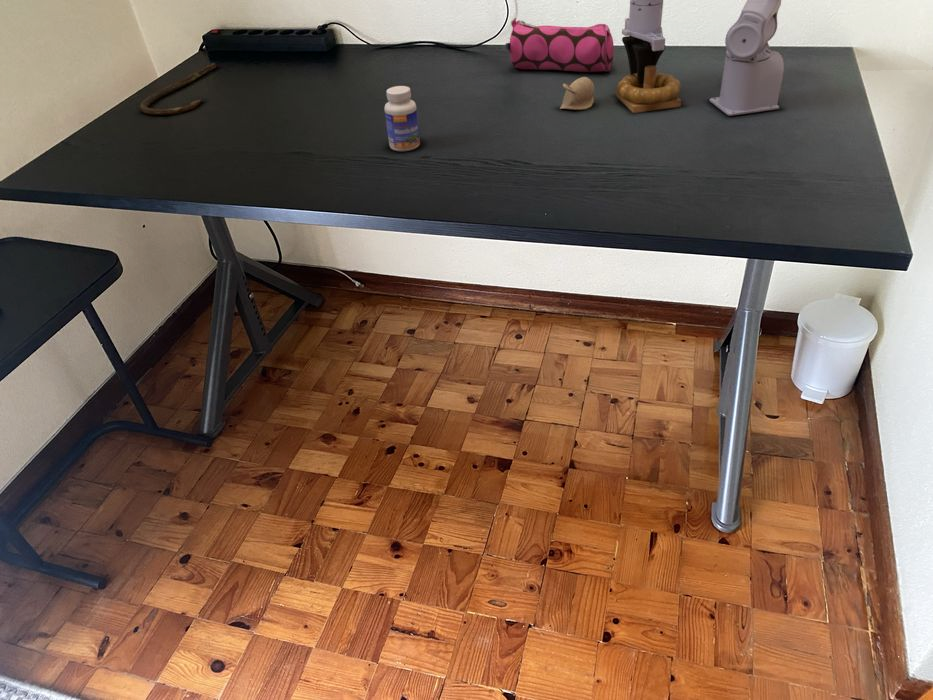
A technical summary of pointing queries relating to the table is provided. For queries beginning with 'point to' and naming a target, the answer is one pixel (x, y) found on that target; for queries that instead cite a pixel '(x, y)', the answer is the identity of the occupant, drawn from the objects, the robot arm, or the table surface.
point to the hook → (169, 90)
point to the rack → (650, 84)
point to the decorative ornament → (578, 94)
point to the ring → (663, 93)
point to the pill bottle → (401, 119)
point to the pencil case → (561, 47)
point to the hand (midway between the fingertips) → (640, 79)
